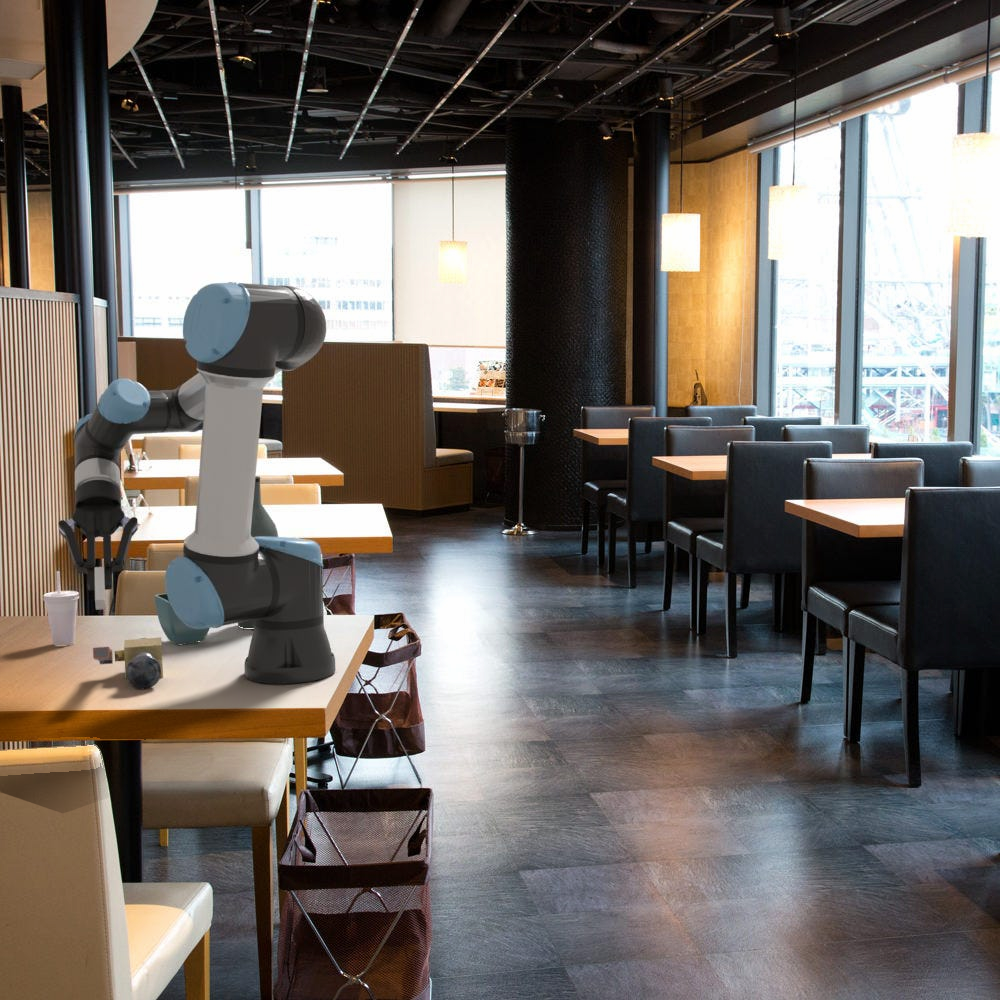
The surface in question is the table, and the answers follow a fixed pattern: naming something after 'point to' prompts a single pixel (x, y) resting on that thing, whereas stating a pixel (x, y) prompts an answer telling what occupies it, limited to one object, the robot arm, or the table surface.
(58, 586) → the smoothie
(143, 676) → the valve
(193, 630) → the flower pot
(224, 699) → the table surface
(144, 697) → the table surface
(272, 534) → the bottle
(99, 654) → the lever
